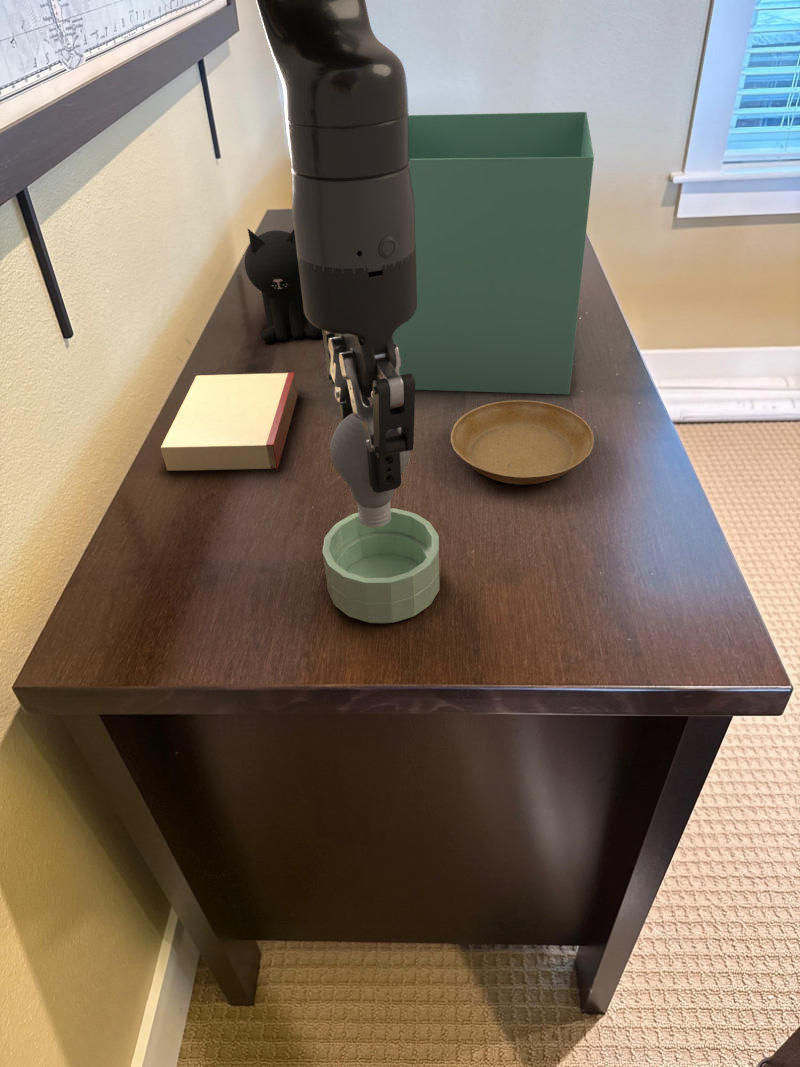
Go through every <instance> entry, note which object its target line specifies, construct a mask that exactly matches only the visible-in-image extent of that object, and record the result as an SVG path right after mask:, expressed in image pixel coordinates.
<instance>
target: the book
mask: <svg viewBox="0 0 800 1067" xmlns="http://www.w3.org/2000/svg"><path fill="white" fill-rule="evenodd" d="M298 396H299V394H298V386H297V380H296V373H295V372H294V371H293V372H278V373H277V372H276V373H275V372H274V373H273V372H272V373H241V374H239V373H238V374H237V373H236V374H205V375H203V374H202V375H201V374H200V375H198V374H197V375H195V377H194V379H193V381H192V384H191V385H190V388H189V390H188V392H187V394H186V395H185V398H184V399H183V402H182V404H181V406H180V407H179V410H178V411H177V414H176V416H175V418H174V419H173V421H172V423H171V425H170V428H169V430H168V432H167V434H166V436H165V438H164V440H163V442H162V443H161V446H160V450H161V454H162V458H163V461H164V465H165V468H166V471H167V472H170V471H171V472H173V471H176V472H178V471H179V472H180V471H223V470H225V471H226V470H227V471H228V470H269V469H270V470H278V469H279V465H280V462H281V458H282V454H283V451H284V447H285V443H286V440H287V437H288V432H289V429H290V425H291V422H292V418H293V414H294V410H295V407H296V404H297V399H298Z"/></svg>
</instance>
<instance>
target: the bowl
mask: <svg viewBox="0 0 800 1067" xmlns="http://www.w3.org/2000/svg"><path fill="white" fill-rule="evenodd" d="M358 515H359V514H358V512H355V513H352V514H350V515H348V516H346V517H345V518H343V519H341V520H339V521H338V522H336V523H335V524H334V525H333V526H332V528H331V529H330V530H329V531H328V533H327V534H326V535H325V536H324V539H323V546H322V549H321V554H322V559H323V567H324V573H325V580H326V586H327V588H326V589H327V593H328V594H329V596H330V599H331V601H332V603H333V605H334V606H335V607H336V608H338V609H339V611H341V612H342V613H343V614H344V615H346V616H347V617H349V618H351V619H355V620H358V621H362V622H366V623H369V624H392V623H397V622H401V621H404V620H408V619H410V618H413V617H415V616H417V615H418V614H420V613H421V612H423V611H424V610H425V609H427V608H428V607H429V606H431V605H432V603H433V601H434V599H435V598H436V596H437V595H438V592H439V591H440V589H441V587H440V586H441V584H440V582H441V580H440V579H441V578H440V573H441V572H440V570H441V569H440V536H439V535H440V534H438V532H437V531H436V529H435V528H434V526H433V525H432V523H431V522H430V521H428V520H427V519H425V518H423V517H422V516H420V515H419V514H417V513H415V512H412V511H407V510H404V509H399V508H395V507H394V508H392V507H391V520H390V522H389V523H388V524H386V525H384V526H382V527H376V528H372V527H367V526H364V525H363V524H361V523H360V521H359V517H358Z"/></svg>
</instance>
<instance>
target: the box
mask: <svg viewBox="0 0 800 1067" xmlns="http://www.w3.org/2000/svg"><path fill="white" fill-rule="evenodd" d="M408 115H409V155H410V161H409V163H410V173H411V181H412V187H413V193H414V202H415V233H416V278H417V308H416V311H415V313H414V315H413V316H412V317H411V318H410V319H409V320H408V321H407V322H406V323H403V324H402V325H401V326H399V327H398V328H397V329H396V330H395V332H394V333H393V335H392V339H393V341H394V343H396V344H397V346H398V349H399V354H400V359H401V366H400V368H399V374H400V375H403V374H408V373H411V374H412V375H413V378H414V379H415V384H416V385H415V391H438V392H439V391H440V392H441V391H444V392H471V393H472V392H473V393H475V392H476V393H502V394H530V395H531V394H532V395H533V394H536V395H566V396H570V392H571V383H572V374H573V373H572V372H573V364H574V353H575V344H576V334H577V326H578V325H577V324H578V316H579V306H580V295H581V286H582V285H581V284H582V278H583V269H584V268H583V266H584V256H585V247H586V237H587V228H588V218H589V208H590V200H591V199H590V198H591V191H592V190H591V189H592V179H593V170H594V161H595V156H594V150H593V144H592V137H591V132H590V131H591V130H590V125H589V118H588V112H587V111H559V112H555V111H554V112H553V111H552V112H507V113H505V112H504V113H501V112H500V113H458V114H457V113H456V114H455V113H454V114H452V113H451V114H408Z"/></svg>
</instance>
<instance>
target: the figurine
mask: <svg viewBox="0 0 800 1067" xmlns="http://www.w3.org/2000/svg"><path fill="white" fill-rule="evenodd" d="M247 233H248V239H249V245H248V247H247V249H246V250H245V251H246V252H245V255H244V269H245V273H246V276H247V278H248V279H249V281H250V283H251V284H252V285H253V286H254V287H255V288H256V289H257V290H259V291H260V292H261V295H262V296H261V297H262V303H263V308H264V314H265V320H266V326H267V328H266V329H264V330H262V332H261V334H260V335H261V336H260V337H261V340H262V341H264V342H265V343H269V342H272V341H274V340H275V339H276V340H278V341H280V342H284V341H286V339H287V338H288V337H291V336H292V337H293V338H294V339H296V340H297V339H301V338H302V337H303V336H307V337H310V338H311V339H312V338H313V339H314V338H318V337H320V336H321V335H322V330H321V329H319V328H317V327H315V326H314V325H313V324H311V323H310V322H309V321H308V319H307V318H306V316H305V314H304V309H303V300H302V292H301V283H300V275H299V266H298V258H297V249H296V241H295V232H294V228H293V229H292V231H291V232H289V231H286V230H278V229H277V230H276V229H275V230H268V231H266V232H262V233H261V234H259V235H257V234H256V233H254V232H253V231H252V230H250V228H247Z"/></svg>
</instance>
